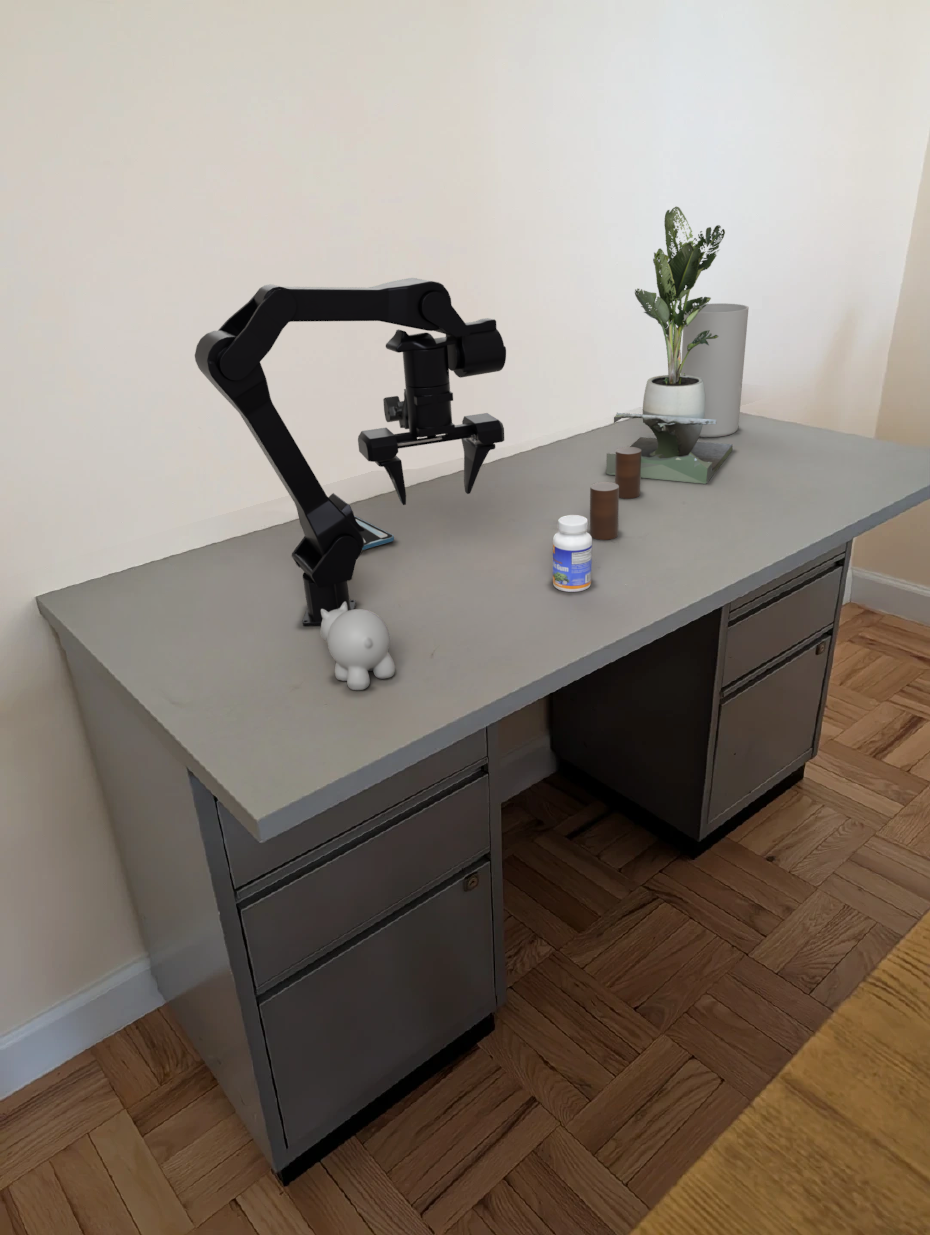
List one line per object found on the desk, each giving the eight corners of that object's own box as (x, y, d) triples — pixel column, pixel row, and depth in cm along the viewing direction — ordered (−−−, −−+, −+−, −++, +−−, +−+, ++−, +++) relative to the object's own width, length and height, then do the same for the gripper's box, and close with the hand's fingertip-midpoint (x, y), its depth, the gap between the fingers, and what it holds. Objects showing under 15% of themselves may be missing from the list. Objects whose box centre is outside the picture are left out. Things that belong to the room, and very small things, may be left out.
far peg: (641, 498, 156) (643, 453, 152) (616, 499, 156) (617, 454, 152) (637, 489, 160) (639, 446, 156) (612, 491, 160) (613, 447, 156)
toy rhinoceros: (356, 641, 114) (349, 580, 110) (405, 678, 105) (398, 613, 101) (305, 659, 110) (295, 597, 106) (350, 699, 101) (342, 633, 97)
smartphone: (352, 514, 154) (396, 536, 142) (352, 519, 154) (397, 541, 143) (313, 524, 150) (355, 548, 139) (314, 530, 151) (356, 553, 139)
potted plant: (706, 484, 160) (725, 209, 140) (606, 474, 168) (610, 213, 148) (732, 450, 178) (752, 201, 157) (639, 443, 185) (648, 205, 165)
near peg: (619, 539, 139) (621, 490, 136) (591, 540, 140) (592, 491, 136) (615, 529, 143) (616, 481, 140) (588, 530, 143) (588, 482, 140)
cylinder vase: (701, 419, 199) (709, 302, 188) (750, 429, 190) (761, 306, 179) (665, 431, 192) (671, 310, 181) (714, 441, 183) (723, 314, 172)
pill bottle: (545, 582, 127) (544, 517, 122) (578, 574, 128) (578, 510, 124) (565, 596, 122) (565, 529, 118) (599, 587, 124) (600, 521, 120)
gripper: (473, 363, 124) (479, 472, 131) (342, 380, 119) (355, 492, 126) (503, 378, 115) (507, 494, 122) (362, 397, 110) (375, 517, 117)
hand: (435, 498), depth 122 cm, fingers open, 9 cm apart
